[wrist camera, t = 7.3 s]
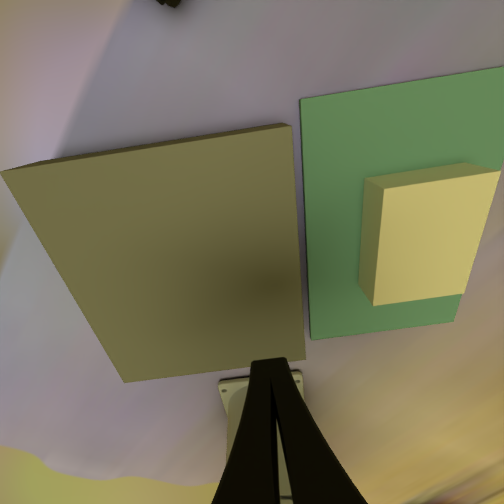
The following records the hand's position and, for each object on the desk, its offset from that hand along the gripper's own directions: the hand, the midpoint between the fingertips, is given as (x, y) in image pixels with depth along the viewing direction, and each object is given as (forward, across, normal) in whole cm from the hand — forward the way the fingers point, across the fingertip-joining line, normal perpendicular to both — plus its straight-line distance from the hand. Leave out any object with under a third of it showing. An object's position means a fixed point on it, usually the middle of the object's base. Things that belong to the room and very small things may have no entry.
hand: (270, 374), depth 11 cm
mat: (+9, -10, -1) cm, 13 cm away
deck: (+9, +4, 0) cm, 10 cm away
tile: (+8, -10, -1) cm, 13 cm away
